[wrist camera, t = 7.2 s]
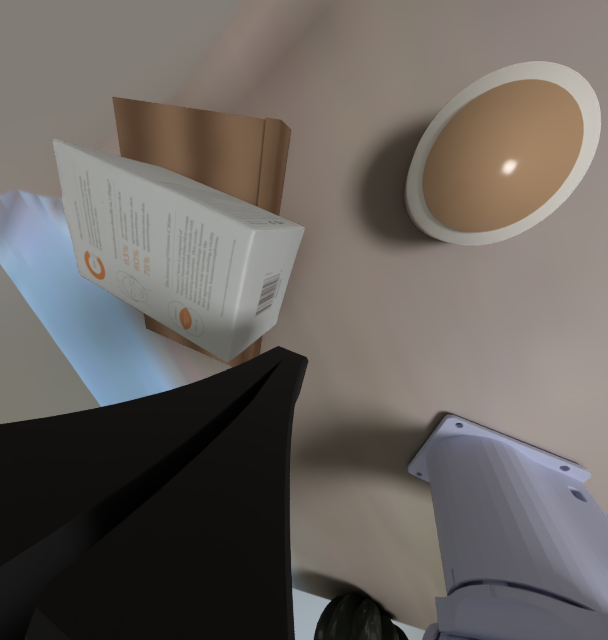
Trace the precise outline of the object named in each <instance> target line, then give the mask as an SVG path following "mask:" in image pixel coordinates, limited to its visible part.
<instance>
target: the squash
mask: <svg viewBox="0 0 608 640" xmlns="http://www.w3.org/2000/svg"><path fill="white" fill-rule="evenodd" d="M314 640H408V638H407V636H406V635H405V633H404V632H403V631H402V630H401V629H400V628H399V627H398V626H396V625H394V624H393V623H392V621H391V620H390V619H389V618H388V617H387V616H385V615H380V612H379V610H378V608H377V606H376V605H375V603H374V602H373V601H372V600H370V599H369V598H367V599H365V600H364V601H363V602H362V600H361V599H360V598H359V596H357V595H356V594H348V595H346V596H345V597H343V596H338V597H336V598H334V599H332V601H331V602H330V603H329V604H328V605H327V606H326V608H325V609H324V611H323V613H322V614H321V616H320V619H319V621H318V623H317V627H316V630H315V635H314Z"/></svg>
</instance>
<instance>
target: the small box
mask: <svg viewBox="0 0 608 640" xmlns="http://www.w3.org/2000/svg"><path fill="white" fill-rule="evenodd" d="M53 146H54V152H55V157H56V162H57V167H58V173H59V178H60V184H61V189H62V196H63V205H64V211H65V216H66V220H67V224H68V227H69V231H70V235H71V239H72V244H73V248H74V253H75V257H76V262H77V266H78V270H79V273H80V275H81V276H83V277H84V278H86V279H88V280H90V281H91V282H93V283H95V284H96V285H98V286H100V287H101V288H103V289H105V290H106V291H108V292H110V293H111V294H113V295H115V296H116V297H118V298H120V299H121V300H123V301H125V302H126V303H128V304H130V305H131V306H133V307H134V308H136V309H138V310H140V311H141V312H143V313H145V314H146V315H148V316H150V317H151V318H153V319H155V320H156V321H158V322H159V323H161V324H163V325H164V326H166V327H168V328H169V329H171V330H173V331H174V332H176V333H178V334H179V335H181V336H183V337H184V338H186V339H188V340H189V341H191V342H193V343H195V344H196V345H198V346H200V347H201V348H203V349H205V350H206V351H208V352H210V353H211V354H213V355H214V356H216V357H218V358H219V359H221V360H223V361H225V362H229V361H231V360H232V359H234V358H235V357H236V356H237V355H239V354H240V353H241V352H242V351H244V350H245V349H246V348H247V347H249V346H250V345H251V344H252V343H253V342H255V341H256V340H257V339H258V338H259V337H261V336H262V335H263V334H264V333H266V332H267V331H268V330H269V329H271V328H272V327H273V326H274V325H276V323H277V320H278V315H279V311H280V308H281V305H282V301H283V298H284V294H285V291H286V288H287V284H288V281H289V277H290V274H291V271H292V268H293V264H294V261H295V258H296V255H297V252H298V249H299V245H300V242H301V240H302V237H303V234H304V231H305V227H303V226H301V225H299V224H296V223H294V222H292V221H289V220H287V219H285V218H282V217H280V216H278V215H275V214H273V213H271V212H268V211H266V210H264V209H261V208H259V207H257V206H254V205H252V204H250V203H247V202H245V201H243V200H240V199H238V198H235V197H233V196H230V195H228V194H225V193H223V192H220V191H218V190H216V189H213V188H211V187H209V186H206V185H204V184H202V183H199V182H197V181H194V180H192V179H190V178H187V177H185V176H182V175H180V174H177V173H175V172H172V171H170V170H167V169H165V168H162V167H159V166H155V165H151V164H147V163H143V162H139V161H135V160H132V159H128V158H124V157H120V156H116V155H113V154H109V153H105V152H101V151H98V150H94V149H90V148H87V147H83V146H79V145H76V144H71V143H68V142H65V141H61V140H58V139H53Z"/></svg>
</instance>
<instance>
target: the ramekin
mask: <svg viewBox="0 0 608 640" xmlns="http://www.w3.org/2000/svg"><path fill="white" fill-rule="evenodd" d="M600 131H601V113H600V107H599V102H598V99H597V97H596V94H595V92H594V90H593V89H592V87H591V86H590V84H589V83H588V81H587V80H585V79H584V78H583V77H582V76H581V75H580V74H579V73H577V72H576V71H574V70H572V69H571V68H569V67H566V66H563V65H560V64H558V63H552V62H545V61H536V62H525V63H518V64H514V65H511V66H507V67H504V68H501V69H498V70H496V71H494V72H491V73H489V74H487V75H485V76H483V77H482V78H480V79H478V80H476V81H475V82H473V83H472V84H470V85H469V86H467V87H466V88H465V89H463V90H462V91H461V92H459V93H458V94H457V95H456V96H455V97H454V98H452V99H451V100H450V101H449V102H448V103H447V104H446V105H445V106H444V107H443V108H442V109H441V111H440V112H439V113H438V114H437V115H436V117H435V118H434V119H433V120H432V122H431V123H430V125H429V126H428V128H427V129H426V131H425V132H424V134H423V136H422V138H421V140H420V142H419V144H418V146H417V148H416V151H415V153H414V156H413V159H412V162H411V165H410V168H409V171H408V174H407V177H406V182H405V191H404V197H405V205H406V209H407V212H408V215H409V217H410V219H411V220H412V222H413V223H414V224H415V226H416V227H417V228H418V229H419V230H420V231H422V232H423V233H424V234H426V235H428V236H430V237H432V238H435V239H438V240H441V241H445V242H448V243H452V244H457V245H466V246H476V245H486V244H491V243H496V242H499V241H503V240H506V239H508V238H511V237H513V236H516V235H518V234H520V233H522V232H524V231H526V230H528V229H530V228H531V227H533V226H534V225H536V224H538V223H539V222H541V221H542V220H543V219H545V218H546V217H547V216H549V215H550V214H551V213H552V212H554V211H555V210H556V209H557V208H558V207H559V206H560V205H561V204H562V203H563V202H564V201H565V200H566V199H567V198H568V197H569V196H570V194H571V193H572V192H573V191H574V189H575V188H576V187H577V185H578V184H579V183H580V181H581V180H582V178H583V177H584V175H585V173H586V172H587V170H588V168H589V166H590V164H591V162H592V159H593V157H594V155H595V152H596V149H597V145H598V142H599V137H600Z"/></svg>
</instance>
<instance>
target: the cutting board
mask: <svg viewBox="0 0 608 640" xmlns="http://www.w3.org/2000/svg"><path fill="white" fill-rule="evenodd" d="M113 104H114V111H115V118H116V125H117V132H118V139H119V146H120V153H121V157H124V158H128V159H132V160H135V161H139V162H143V163H147V164H151V165H155V166H159V167H162V168H165V169H167V170H170V171H172V172H175V173H177V174H180V175H182V176H185V177H187V178H190V179H192V180H194V181H197V182H199V183H202V184H204V185H206V186H209V187H211V188H213V189H216V190H218V191H220V192H223V193H225V194H228V195H230V196H233V197H235V198H238V199H240V200H243V201H245V202H247V203H250V204H252V205H254V206H257V207H259V208H261V209H264V210H266V211H268V212H271V213H273V214H275V215H278V216H279V212H280V205H281V198H282V191H283V184H284V177H285V170H286V163H287V156H288V148H289V141H290V134H291V129H290V128H289V127H288V126H287V125H286V124H285V123H284V122H283V121H282V120H279V119H272V118H266V119H260V118H253V117H246V116H239V115H232V114H226V113H219V112H212V111H205V110H199V109H192V108H185V107H178V106H171V105H165V104H158V103H151V102H144V101H137V100H130V99H123V98H117V97H113ZM144 317H145V324H146V328H147V329H149V330H151V331H154V332H156V333H158V334H160V335H163V336H165V337H167V338H169V339H172V340H174V341H176V342H178V343H181V344H183V345H185V346H187V347H190V348H192V349H194V350H196V351H199V352H201V353H203V354H205V355H207V356H210V357H212V358H214V359H216V360H219V361H221V362H223V363H225V364H228V365H230V366H232V367H235V366H237V365H239V364H241V363H244V362H246V361H248V360H250V359H252V358H254V357H257V356H259V355H260V348H261V341H262V336H261V337H259V338H258V339H257V340H256V341H255V342H253V343H252V344H251V345H250V346H249V347H247V348H246V349H245V350H244V351H242V352H241V353H240V354H239V355H237V356H236V357H235V358H234V359H232V360H231V361H229V362H225V361H223V360H221V359H219V358H218V357H216V356H214V355H213V354H211V353H210V352H208V351H206V350H205V349H203V348H201V347H200V346H198V345H196V344H195V343H193V342H191V341H189V340H188V339H186V338H184V337H183V336H181V335H179V334H178V333H176V332H174V331H173V330H171V329H169V328H168V327H166V326H164V325H163V324H161V323H159V322H158V321H156V320H155V319H153V318H151V317H150V316H148V315H146V314H145V313H144Z"/></svg>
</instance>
